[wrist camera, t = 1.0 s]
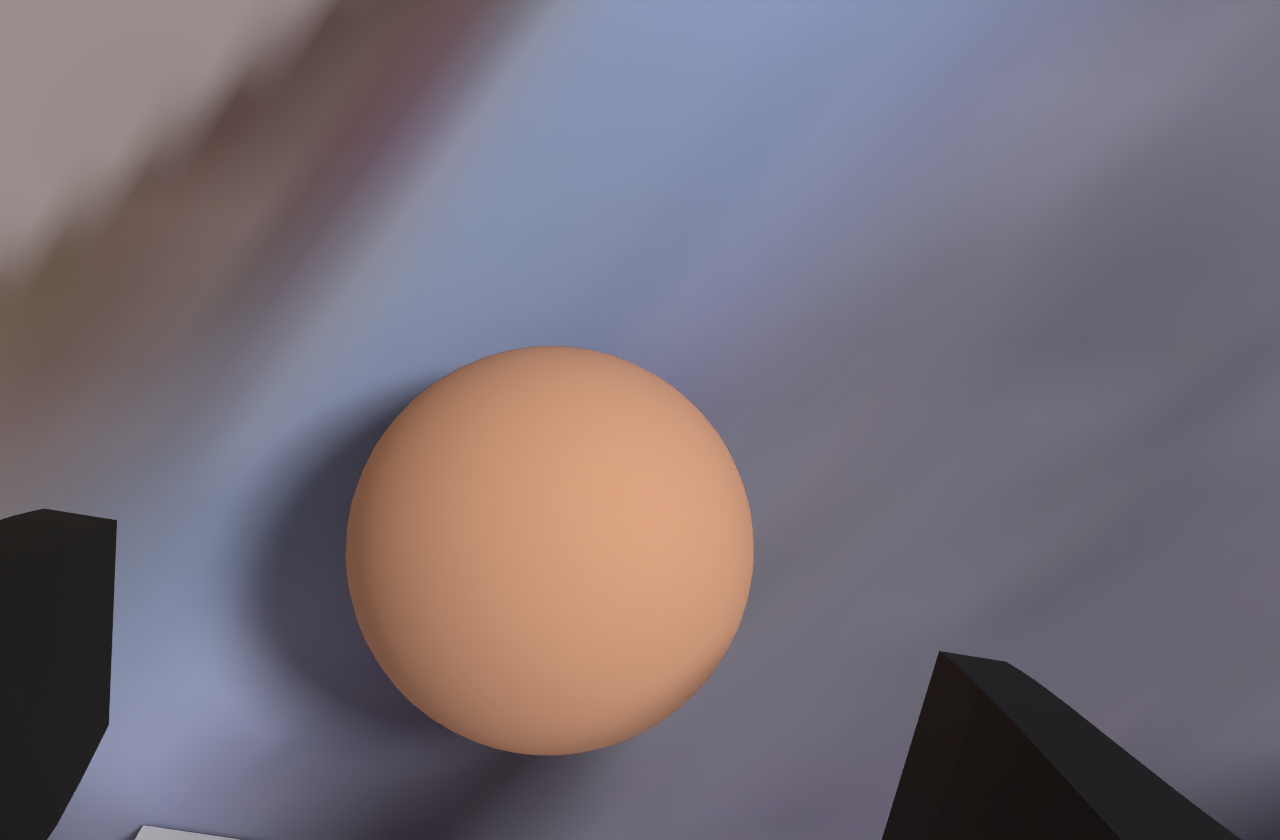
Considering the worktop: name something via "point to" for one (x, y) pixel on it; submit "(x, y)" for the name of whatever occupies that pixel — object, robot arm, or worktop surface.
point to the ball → (549, 550)
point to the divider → (173, 835)
